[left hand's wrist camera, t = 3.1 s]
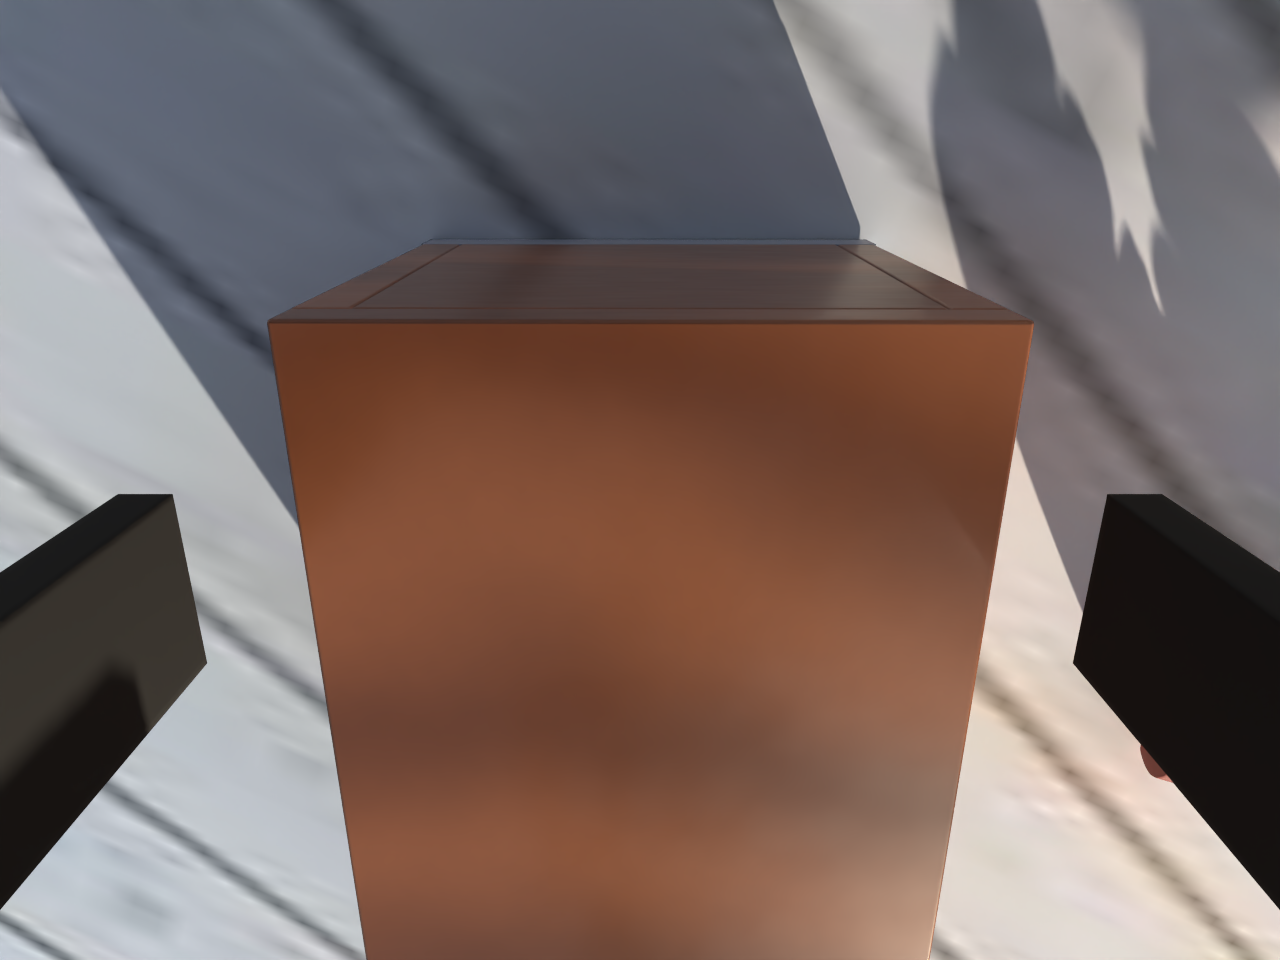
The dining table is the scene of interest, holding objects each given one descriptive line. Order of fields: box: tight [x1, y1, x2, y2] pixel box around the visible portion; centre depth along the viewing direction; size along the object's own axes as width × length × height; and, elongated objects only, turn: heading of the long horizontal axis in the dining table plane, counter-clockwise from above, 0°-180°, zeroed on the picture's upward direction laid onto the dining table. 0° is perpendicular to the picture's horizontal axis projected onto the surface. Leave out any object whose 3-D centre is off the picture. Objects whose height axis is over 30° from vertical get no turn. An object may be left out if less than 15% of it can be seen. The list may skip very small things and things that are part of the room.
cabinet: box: [267, 239, 1034, 960], centre depth 21 cm, size 16×11×11 cm
